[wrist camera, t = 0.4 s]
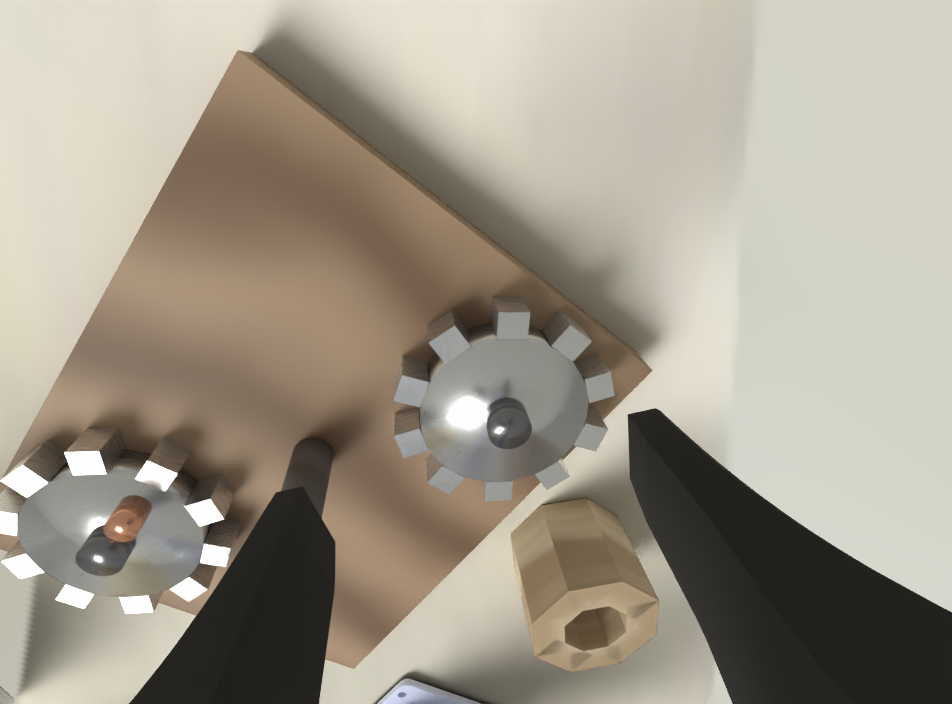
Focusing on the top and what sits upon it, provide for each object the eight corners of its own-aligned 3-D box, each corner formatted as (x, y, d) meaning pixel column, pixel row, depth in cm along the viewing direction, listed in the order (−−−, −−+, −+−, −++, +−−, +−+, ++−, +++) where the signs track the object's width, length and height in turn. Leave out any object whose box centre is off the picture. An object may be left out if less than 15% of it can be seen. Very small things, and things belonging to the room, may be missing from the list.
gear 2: (509, 504, 24) (520, 547, 22) (351, 418, 21) (345, 458, 18) (641, 371, 21) (669, 405, 19) (484, 252, 18) (496, 275, 16)
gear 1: (183, 606, 24) (159, 663, 22) (-19, 537, 21) (-73, 594, 19) (277, 487, 22) (261, 536, 19) (63, 389, 19) (14, 434, 16)
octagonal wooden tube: (567, 591, 29) (595, 681, 25) (490, 554, 27) (507, 645, 23) (638, 528, 28) (682, 613, 23) (562, 484, 26) (595, 567, 21)
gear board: (356, 642, 29) (347, 742, 25) (-5, 511, 22) (-106, 616, 18) (637, 353, 23) (694, 418, 18) (251, 52, 16) (193, 41, 12)
